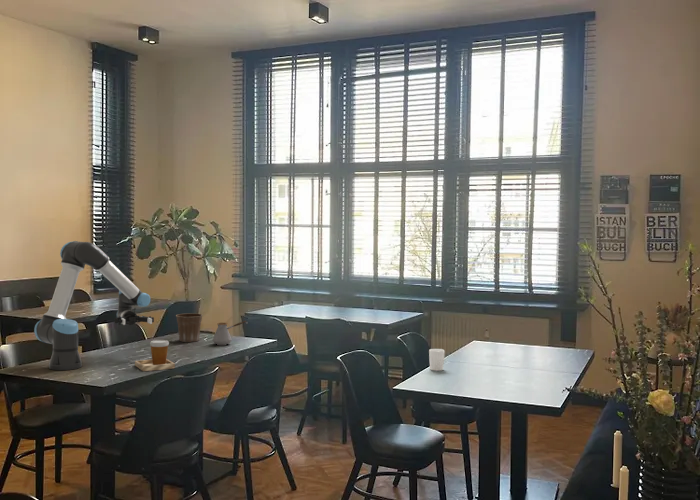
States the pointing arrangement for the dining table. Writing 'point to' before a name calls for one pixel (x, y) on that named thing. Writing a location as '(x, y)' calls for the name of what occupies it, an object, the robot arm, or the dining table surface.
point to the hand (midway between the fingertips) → (138, 321)
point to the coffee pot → (223, 334)
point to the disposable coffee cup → (159, 351)
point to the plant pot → (189, 326)
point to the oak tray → (148, 365)
